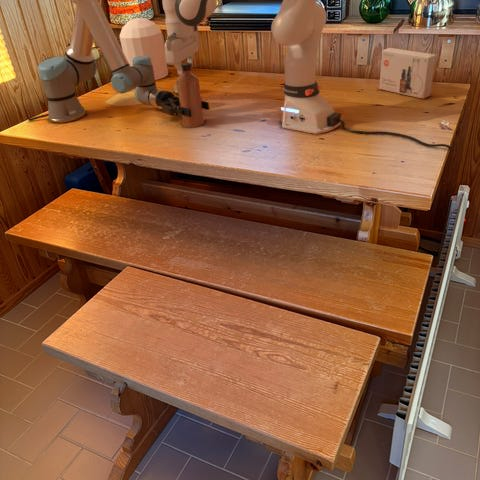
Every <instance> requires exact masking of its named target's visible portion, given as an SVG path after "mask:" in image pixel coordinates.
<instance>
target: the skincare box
mask: <svg viewBox="0 0 480 480" xmlns="http://www.w3.org/2000/svg"><path fill="white" fill-rule="evenodd" d="M436 57H437V54H435V53H427V52H423V51H422V52H420V51H413V50H407V49H400V48H395V47H394V48H393V47H387V48H385V49H382V50H381V61H380V74H379V86H378V87H379V88H378V89H379V90H383V91H387V92H391V93H395V94H399V95H405V96H409V97H414V98H418V99H422V100H424V99H426V98H428V97H430V96H431V91H432V86H433V85H432V84H433V78H434V73H435V72H434V71H435V70H434V69H435V64H436Z"/></svg>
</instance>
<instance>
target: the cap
mask: <svg viewBox="0 0 480 480" xmlns="http://www.w3.org/2000/svg"><path fill="white" fill-rule="evenodd" d="M181 67H182V68H183V70H184V71H189V70H190V71H191V70H192V68H191V65H190V63H187V62H181Z"/></svg>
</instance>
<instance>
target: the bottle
mask: <svg viewBox="0 0 480 480" xmlns="http://www.w3.org/2000/svg"><path fill="white" fill-rule="evenodd" d="M175 82H176V83H175V84H176V85H177V90H178V94H177V97H179V102H180V107H183V108H187V109H190V110H191V116H192V117H188V116H184V115H181V120H182V121H181V122H182V125H183V127H185V128H196V127H197V128H198V127H200V126H202V125H204V124H205V117H204V109H203V108H202V101H203V100H202V101H201V99H202V95H201V94H202V93H201V87H200V79H199V77H198V76H197V75H195V74H194V73H192V72H191V70H189V71H184V73H183V74H182V75H178V77H177V78H176V80H175Z"/></svg>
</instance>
